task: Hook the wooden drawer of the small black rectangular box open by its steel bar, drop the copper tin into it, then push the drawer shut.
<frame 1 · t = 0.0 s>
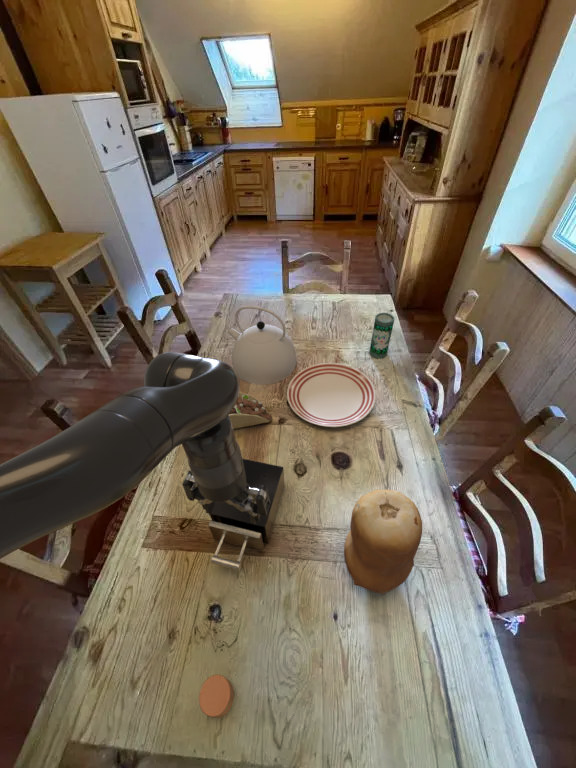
hand: (233, 513, 62), 19 cm above the table, tool pointing down, fingers open, 8 cm apart
taco: (226, 426, 101), on the table
butternut squash: (372, 565, 73), on the table
wooden drawer: (241, 522, 76), point 5 cm above the table, slide at 1.0 cm
kettle: (261, 362, 122), on the table
copper tin: (219, 697, 59), on the table
black rectangular box: (252, 507, 83), on the table
dinner plate: (330, 398, 108), on the table
can: (377, 353, 124), on the table
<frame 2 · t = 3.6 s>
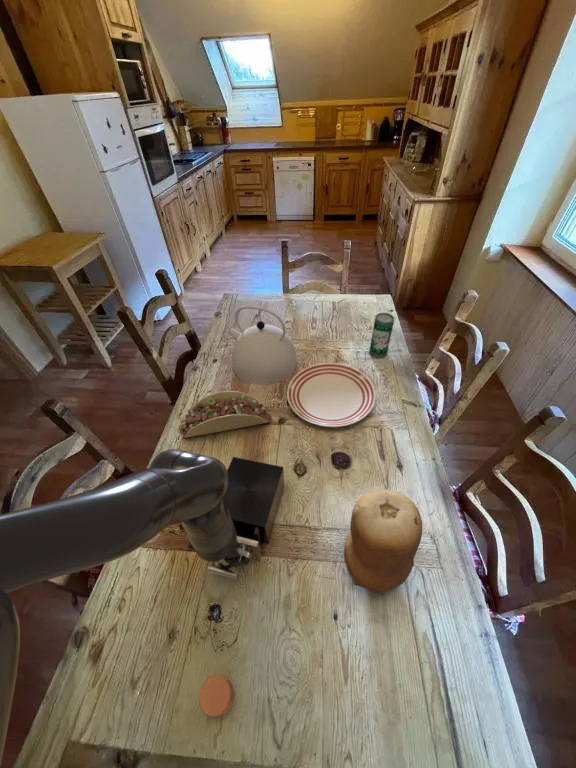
hand: (227, 564, 70), 4 cm above the table, tool pointing down, fingers closed
wooden drawer: (239, 529, 75), point 5 cm above the table, slide at 2.7 cm, touching gripper
everything else where it was.
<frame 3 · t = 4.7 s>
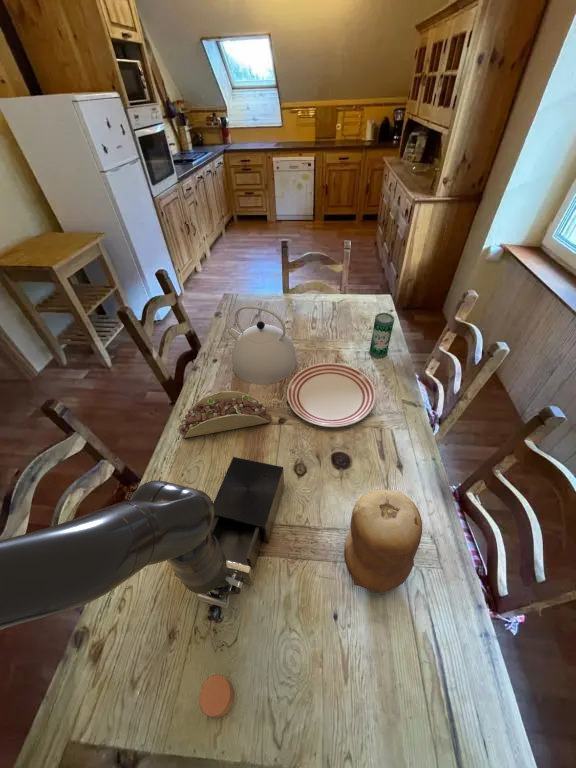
hand: (217, 591, 67), 4 cm above the table, tool pointing down, fingers closed
wooden drawer: (230, 552, 71), point 5 cm above the table, slide at 7.6 cm, touching gripper
everything else where it was.
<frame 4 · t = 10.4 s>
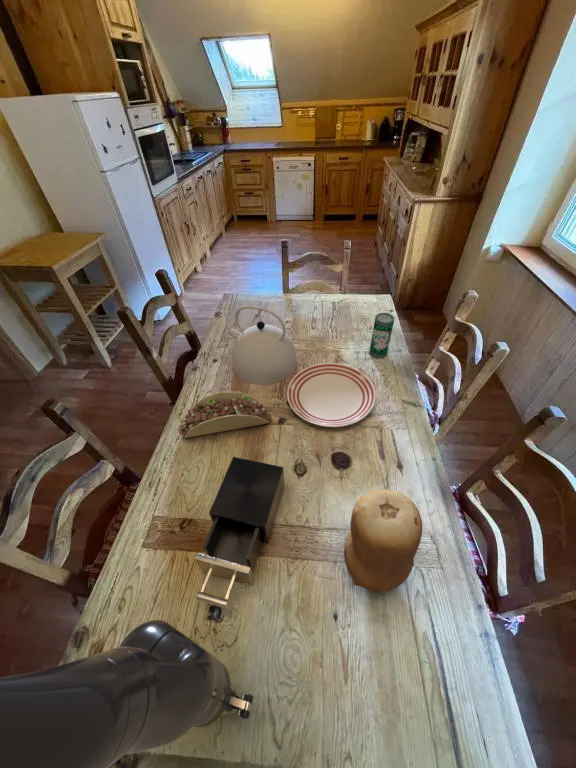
hand: (219, 696, 58), 0 cm above the table, tool pointing down, fingers closed on copper tin, 5 cm apart
wooden drawer: (230, 553, 71), point 5 cm above the table, slide at 7.8 cm
copper tin: (219, 697, 59), on the table, touching gripper
everything else where it was.
when the fingers open (9 cm above the table, at t = 16.6 s): copper tin drops 7 cm, resting on wooden drawer.
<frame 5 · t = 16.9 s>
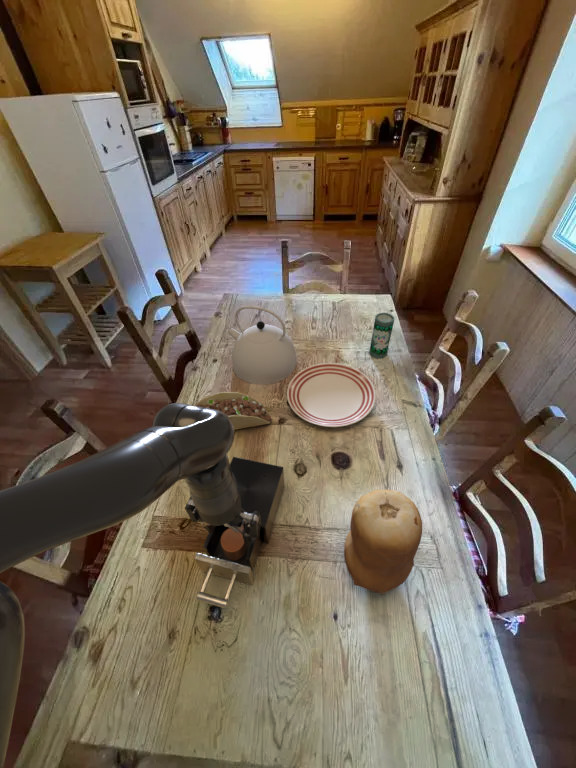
hand: (230, 533, 69), 10 cm above the table, tool pointing down, fingers open, 7 cm apart
wooden drawer: (230, 553, 71), point 5 cm above the table, slide at 7.7 cm, touching copper tin
copper tin: (235, 547, 74), point 2 cm above the table, touching wooden drawer
everything else where it was.
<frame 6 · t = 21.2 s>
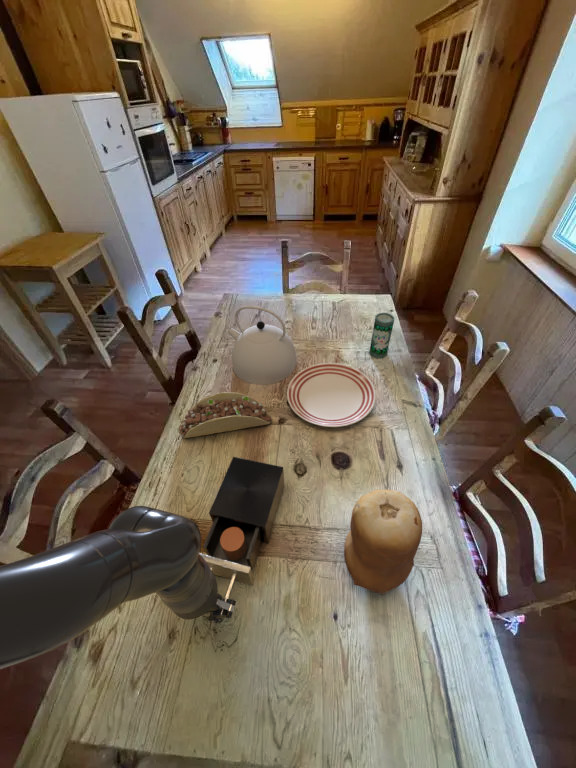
hand: (209, 611, 64), 5 cm above the table, tool pointing down, fingers closed
wooden drawer: (230, 552, 71), point 5 cm above the table, slide at 7.7 cm, touching copper tin, gripper
everything else where it was.
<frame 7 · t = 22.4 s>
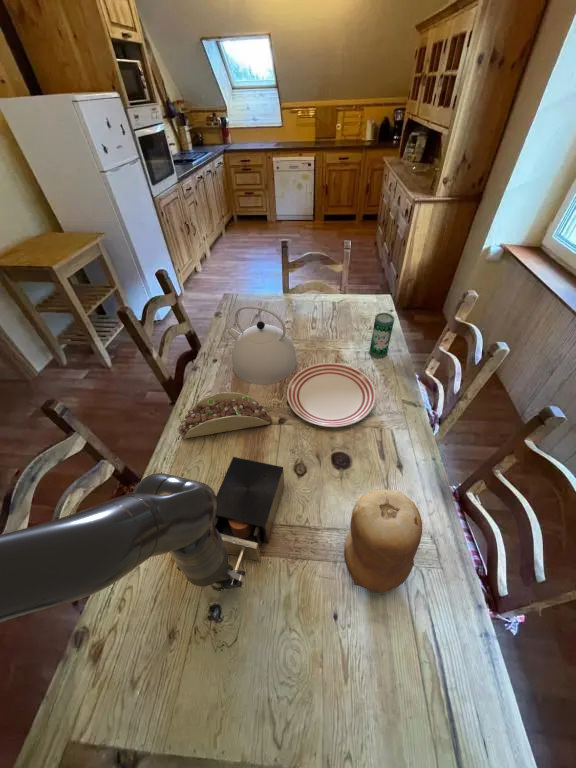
hand: (219, 585, 67), 4 cm above the table, tool pointing down, fingers closed
wooden drawer: (238, 531, 74), point 5 cm above the table, slide at 3.1 cm, touching copper tin, gripper
copper tin: (242, 527, 77), point 2 cm above the table, touching wooden drawer
everything else where it was.
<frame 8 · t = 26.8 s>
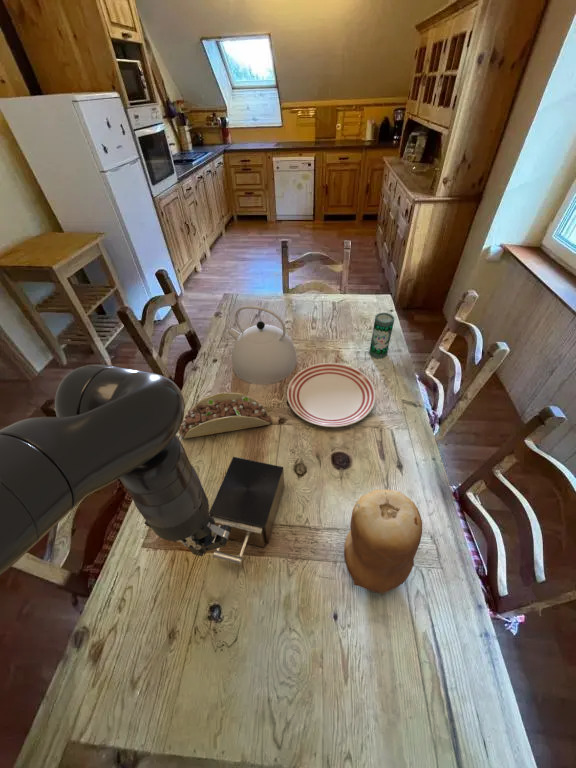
hand: (200, 549, 54), 23 cm above the table, tool pointing down, fingers closed
wooden drawer: (243, 517, 76), point 5 cm above the table, slide at 0.0 cm, touching copper tin
copper tin: (247, 514, 80), point 2 cm above the table, touching wooden drawer
everything else where it was.
at the end: wooden drawer pulled out 7.8 cm at the most during the clip, back to where it started at the end; copper tin inside the target area in the black rectangular box (2.7 cm from its centre), point 2.0 cm above the black rectangular box's base; wooden drawer slide at 0.0 cm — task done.
